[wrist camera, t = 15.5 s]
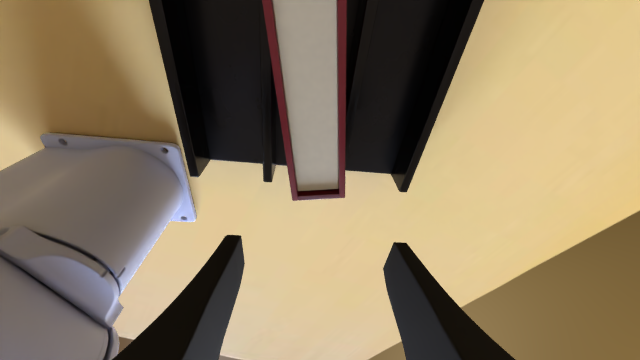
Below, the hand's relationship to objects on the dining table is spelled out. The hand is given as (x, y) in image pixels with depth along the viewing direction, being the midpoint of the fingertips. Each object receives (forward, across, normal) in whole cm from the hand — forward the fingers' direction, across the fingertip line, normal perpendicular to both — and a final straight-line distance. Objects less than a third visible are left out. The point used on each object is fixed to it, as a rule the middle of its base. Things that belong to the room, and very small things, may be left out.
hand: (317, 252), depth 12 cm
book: (+9, +1, -6) cm, 11 cm away
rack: (+10, +1, -6) cm, 11 cm away
